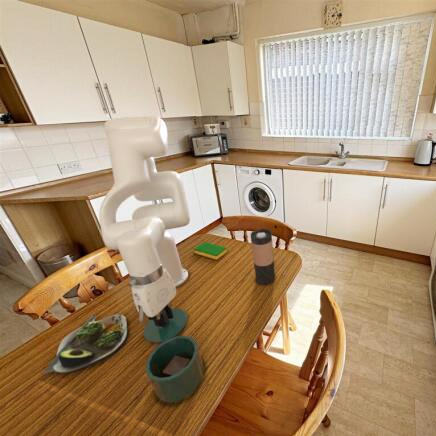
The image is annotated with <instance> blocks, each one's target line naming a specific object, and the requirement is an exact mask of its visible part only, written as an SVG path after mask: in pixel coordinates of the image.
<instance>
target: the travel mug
mask: <svg viewBox="0 0 436 436" xmlns="http://www.w3.org/2000/svg"><path fill="white" fill-rule="evenodd" d="M250 243H251V252H252V261H253V267H254V273H255V279H256V282H257V283H258V284H260V285H270V284H271V283H273V282H274V280H275V277H276V276H275V257H274V256H275V255H274V247H273V234H272V231H271V230H269V229H268V228H259V230H256V231H255V230H254V231H251V233H250Z"/></svg>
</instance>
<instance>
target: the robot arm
mask: <svg viewBox="0 0 436 436" xmlns="http://www.w3.org/2000/svg"><path fill="white" fill-rule="evenodd" d="M103 129H104V132H105V134H106V136H107V145H108V151H109V158H110V164H111V171H112V177H113V180H114V181H113V182H114V183H113V185H112V186H111V188H110V189H109V190H108V192H107V193H106V195H105V196H104V198H103V200H102V202H101V203H100V204H101V205H100V207H99V211H98V212H99V214H98V215H99V217H98V219H99V223H100V231H101V236H102V240H103V243H104V244H105V246H106V247H107V248H108V249H110V250H113V251H118V252H119V254H120V256H121V259H122V261H123V264H124V265H125V268H126V271H127V273H128V275H129V276H128V277H129V279H130V280H129V282H128V283H127V285H128V286H129V288H131V294H132V295H131V296H132V299H133V303H134V305H135V308H136V310H137V312H138V314H139V318H138V323H142V324H146V323H148V321H149V320H153V321H154V323H155V325H156V326H157V327H163V328H165V326H166V324H165V321H164V318H163V317H162V316H160V313H159V312H160V311H161V310H162V309H163V308H165V309H166V311H167V314H168V317H169V319H173V318H174V317H173V314H172V310H171V309H172V305H173V304H172V301H173V299H174V298H175V297H176V295H177V287H179V286H181V285H182V284H184V283H185V282H186V281H187V280H188V278H189V272H188V270H187V269H185V268H183V267H182V262H181V259H180V255H179V251H178V248H177V245H176V241H175V238H174V236H173V235H172V234H171V233H170V232H169V231H167V230H173V229H177V228H178V229H179V228H183V227H186V226H188V225H189V224H190V222H191V215H190V210H189V206H188V201H187V196H186V192H185V191H186V190H185V187H184V183H183V180H182V177H181V176H180V174H179V173H178V172H177V171H173V170H164V171H157V167H156V161H155V158H160V157H164V156H166V155H167V153H168V149H169V146H168V145H169V144H168V143H169V141H168V140H169V132H168V128H167V125H166V122H165V121H164V119H163V118H161V117H159V116H157V115H154V116H153V115H151V116H150V115H148V116H123V117H114V118H109V119H108V120H105V122H104V128H103ZM132 196H133V197H134V198H135V199H136V201H139V202H152V201H160V200H166V199H169V200H172V201H167V202H161V203H160V202H159V203H153V204H147V205H142V206H139V207H137V208H136V209H135V210H134V211H133V212H132V214H131V215H132V217H131V218H132V219H128V220H122V221H117V212H118V209H119V208H120V206H121V205H122V204H123V203H124V202H125V201H126V200H128V199H130V197H132Z"/></svg>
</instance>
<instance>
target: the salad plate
mask: <svg viewBox="0 0 436 436" xmlns="http://www.w3.org/2000/svg"><path fill="white" fill-rule="evenodd" d="M96 317H97V316H96V315H91V316H90V317H89V318H88V319H87V320H86V321H85V322H84V323H83V325H82V326H80V327H78V328H76V329H74V330H73V331H72V332H70V333H69V334H67V335H66V336H65V337H64V338H63V339H62V340H61V341H60V343H59V346H58V348H57V352H56V356H55V357H54V358H53V359H52V360H51V361H50V362H49V363H48V365H47V366H46V367H45V369H44V370H43V373H44V375H47V374H49V373H57V374H63V375H65V374H66V375H68V374H73V373H77V372H79V371H82V370H85V369H87V368H89V367H91V366H92V367H93V366H94V365H96V364H98V363H101V362H103V361H105V360H107V359H108V358H109V359H110V357H112V356H113V355H114V354H116V353H117V352H119V350H120V349H121V348H122V347H123V345H124V344H125V342H126V341H127V338H128V335H129V333H128V322H127V321H128V320H127V317H126V316H125V315H123V314H113V315H110V316H107V317H105V318H102V319H100V320H96ZM110 325H115V326H118V327H119V328H120V329H119V328H118V329H114V328H112V329H111V330H110V331H106V327H108V326H110ZM105 331H106V332H105Z"/></svg>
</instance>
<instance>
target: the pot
mask: <svg viewBox="0 0 436 436" xmlns="http://www.w3.org/2000/svg"><path fill="white" fill-rule="evenodd" d="M175 355H176V356H179V357H183V358H186V359H189V360H190V362H189V364H188V365H187V366H186V367H185V368H184V369H182V370H181V371H180V372H179V373H177V374H174V375H172V376H170V377H164V375H163V373H162V372H163V370H164V369H165V368H166V367H167V365H168V364H169V363H170V361H171V360H172V359H173V358H174V356H175ZM204 372H205V367H204V362H203V360H202V356H201V353H200V350H199V346H198V343H197V341H196V340H195V339H194V338H193V337H192V336H188V335H176V336H175V337H173V338H171V339H168V340H166V341H164V342H161V343H159V344H158V345H157V346H156V347H155V348H154V349H153V350H152V352H151V353H150V354H149V356H148V358H147V360H146V362H145V373H146V376H147V378H148V380H149V382H150V384H151V387H152V389H153V391H154V393H155V395H156V396H157V398H158V399H159V400H160V401H162V402H165V403H167V404H168V403H176V402H177V403H178V402H180V401H181V400H183V399H185V398H187V397H189V396H190V395H191V394H192V393H193V392H194V391H195V390H196V389H198V386H199V385H200V383H201V381H202V379H203V376H204ZM162 376H163V377H162Z"/></svg>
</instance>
